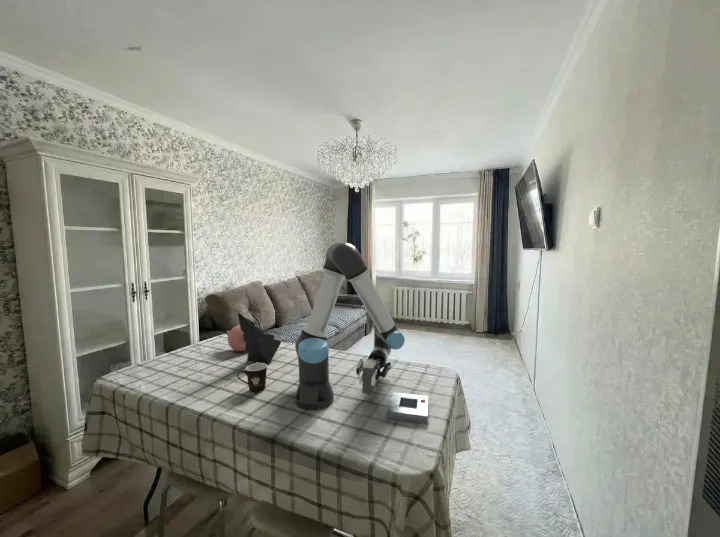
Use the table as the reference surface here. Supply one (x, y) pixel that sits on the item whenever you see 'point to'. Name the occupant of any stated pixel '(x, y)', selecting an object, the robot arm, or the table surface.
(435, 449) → the table surface
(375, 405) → the table surface
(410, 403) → the socket block
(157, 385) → the table surface
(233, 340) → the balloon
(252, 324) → the dark angular faceted shape
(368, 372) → the plug
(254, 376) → the coffee mug
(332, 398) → the robot arm
